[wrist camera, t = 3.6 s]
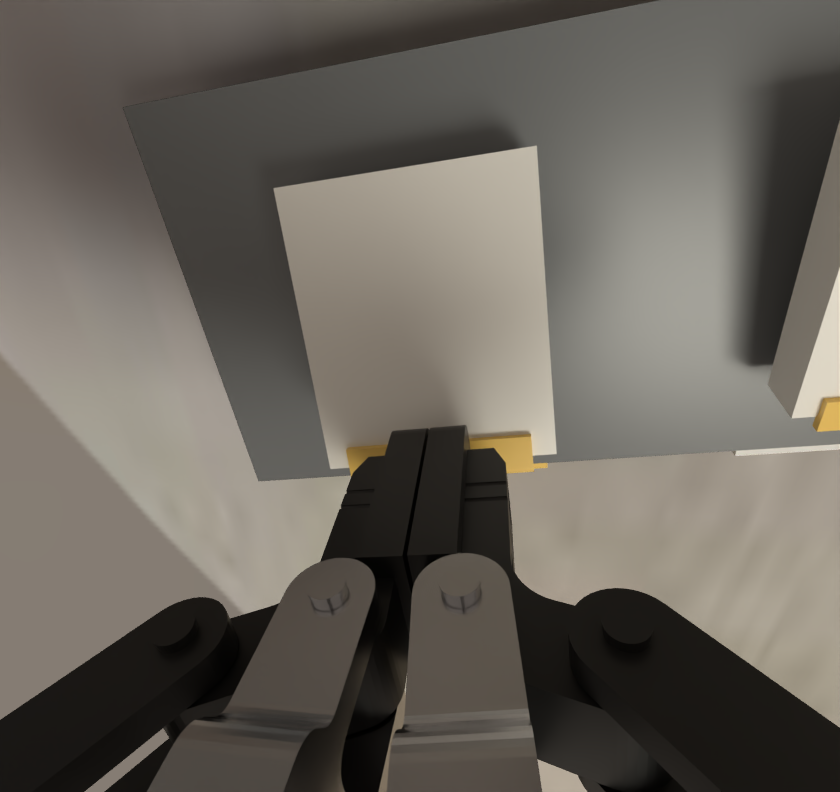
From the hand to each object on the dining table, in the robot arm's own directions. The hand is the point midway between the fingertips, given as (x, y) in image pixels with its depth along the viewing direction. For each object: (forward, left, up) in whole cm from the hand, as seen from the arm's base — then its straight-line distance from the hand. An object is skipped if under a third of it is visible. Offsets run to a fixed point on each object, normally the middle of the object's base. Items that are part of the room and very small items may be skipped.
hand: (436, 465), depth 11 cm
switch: (-3, 0, -2) cm, 3 cm away
